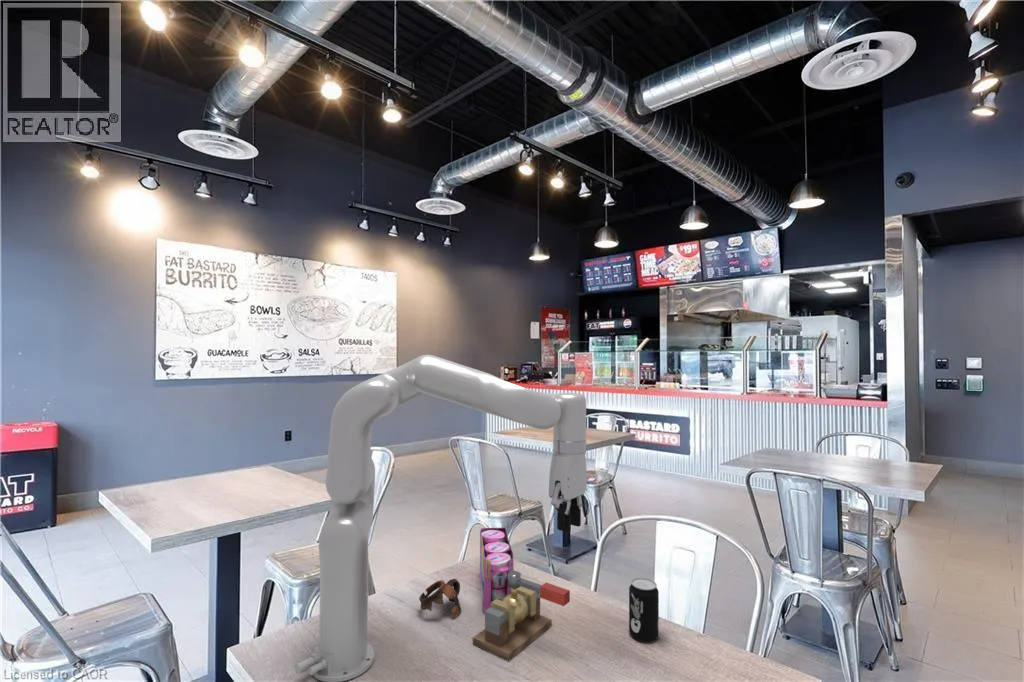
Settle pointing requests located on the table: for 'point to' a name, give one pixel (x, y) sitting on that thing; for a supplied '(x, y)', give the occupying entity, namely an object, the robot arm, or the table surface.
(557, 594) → the lever
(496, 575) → the gum box
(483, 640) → the valve board
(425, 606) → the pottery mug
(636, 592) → the beverage can
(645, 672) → the table surface
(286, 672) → the table surface
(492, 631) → the ball valve
